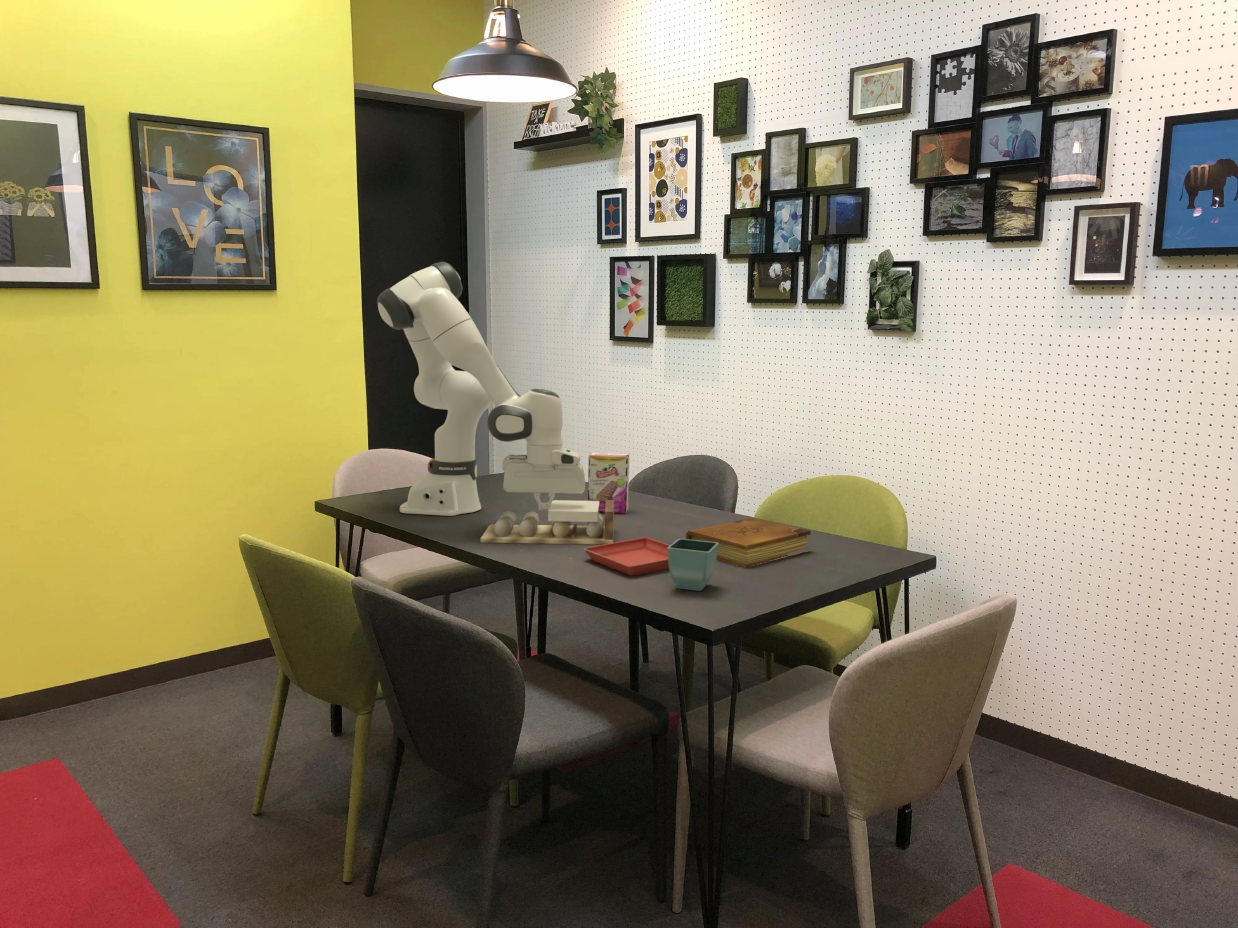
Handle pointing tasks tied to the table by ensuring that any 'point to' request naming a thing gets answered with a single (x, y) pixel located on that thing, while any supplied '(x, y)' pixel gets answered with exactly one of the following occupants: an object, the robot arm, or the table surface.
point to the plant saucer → (632, 555)
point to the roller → (561, 528)
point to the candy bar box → (609, 480)
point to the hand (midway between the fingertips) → (544, 510)
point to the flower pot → (692, 563)
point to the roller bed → (550, 530)
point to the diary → (752, 540)
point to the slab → (573, 511)
